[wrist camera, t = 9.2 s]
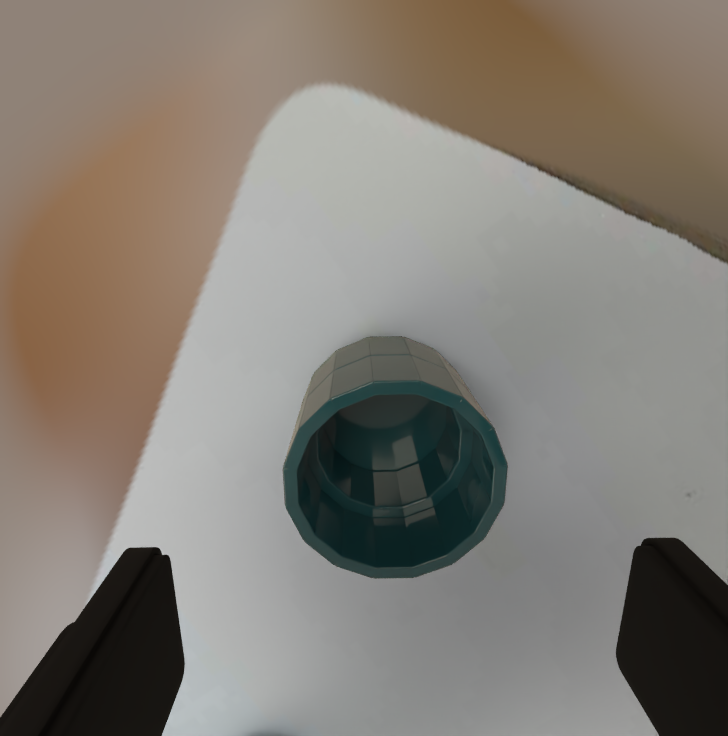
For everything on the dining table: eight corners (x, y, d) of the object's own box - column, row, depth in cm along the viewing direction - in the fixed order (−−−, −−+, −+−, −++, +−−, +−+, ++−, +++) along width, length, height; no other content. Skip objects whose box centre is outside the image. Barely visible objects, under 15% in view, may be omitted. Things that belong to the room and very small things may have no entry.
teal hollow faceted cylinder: (385, 297, 17) (397, 332, 12) (497, 409, 19) (552, 484, 13) (270, 412, 19) (237, 488, 13) (383, 509, 20) (393, 613, 15)
